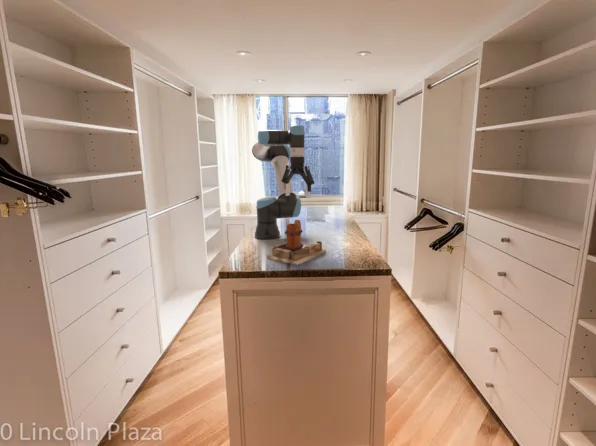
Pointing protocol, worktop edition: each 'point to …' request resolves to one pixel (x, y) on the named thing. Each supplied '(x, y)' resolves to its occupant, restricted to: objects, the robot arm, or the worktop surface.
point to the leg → (314, 247)
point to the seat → (292, 254)
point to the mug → (294, 236)
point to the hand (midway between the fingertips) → (297, 196)
